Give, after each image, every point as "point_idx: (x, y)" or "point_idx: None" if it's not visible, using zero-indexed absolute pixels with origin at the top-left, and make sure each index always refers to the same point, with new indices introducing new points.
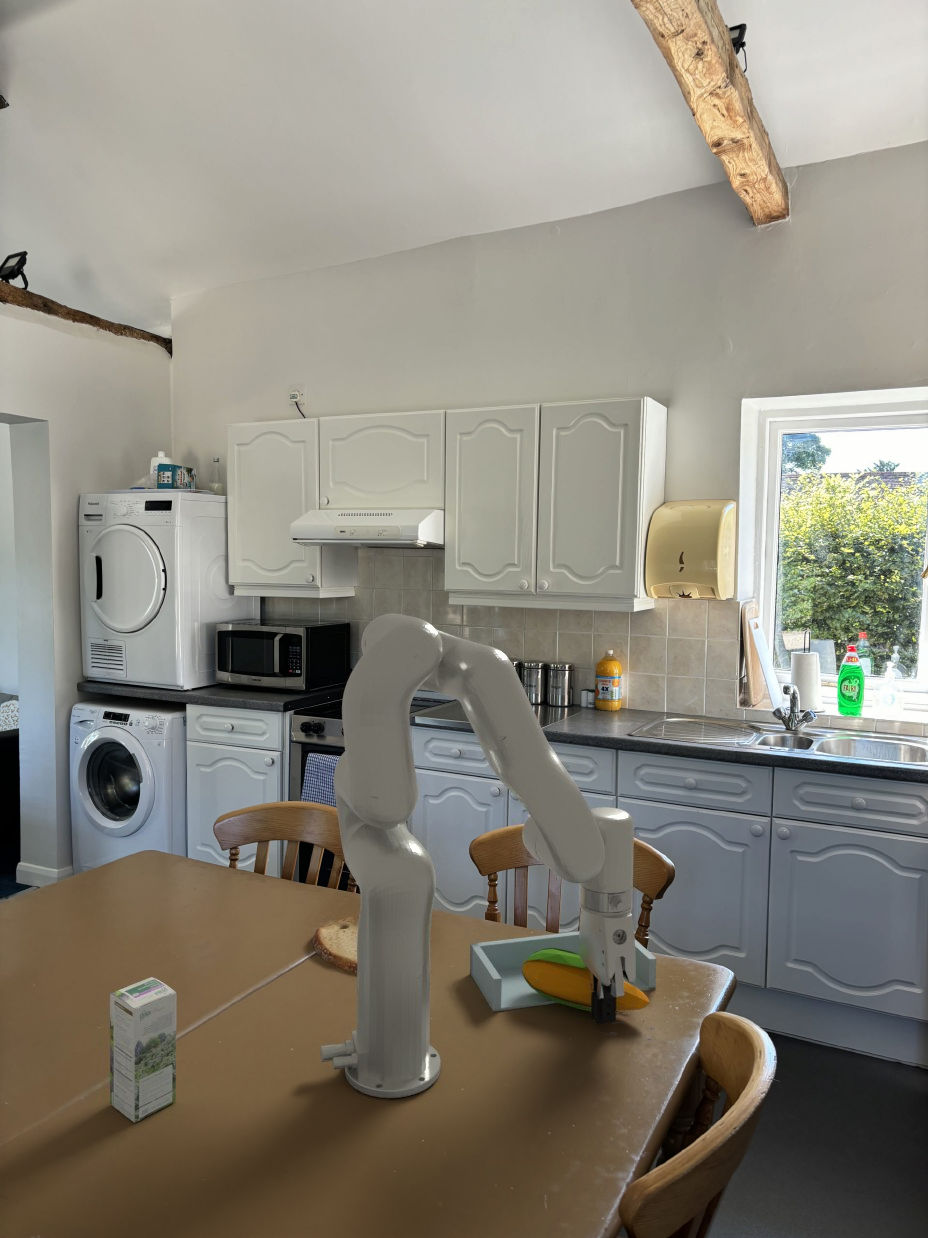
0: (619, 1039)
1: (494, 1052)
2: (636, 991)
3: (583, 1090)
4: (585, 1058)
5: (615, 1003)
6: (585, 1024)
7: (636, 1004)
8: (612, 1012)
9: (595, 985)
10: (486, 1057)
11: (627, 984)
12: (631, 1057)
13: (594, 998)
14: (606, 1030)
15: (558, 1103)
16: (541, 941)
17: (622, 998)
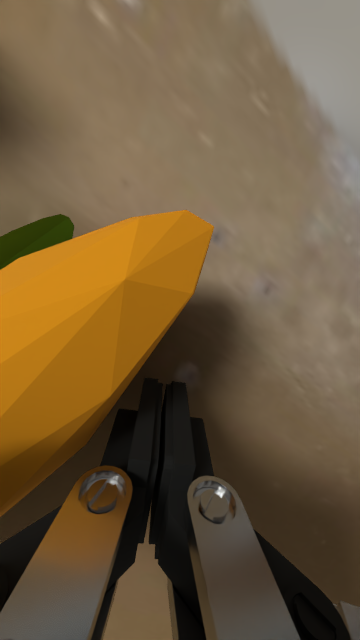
0: (223, 374)
1: (144, 623)
2: (158, 283)
3: (346, 541)
4: (254, 491)
5: (190, 432)
6: (110, 419)
7: (190, 297)
8: (204, 434)
9: (111, 595)
10: (155, 637)
11: (92, 324)
12: (313, 394)
13: (156, 544)
14: (164, 382)
15: (349, 589)
16: None
17: (143, 358)
